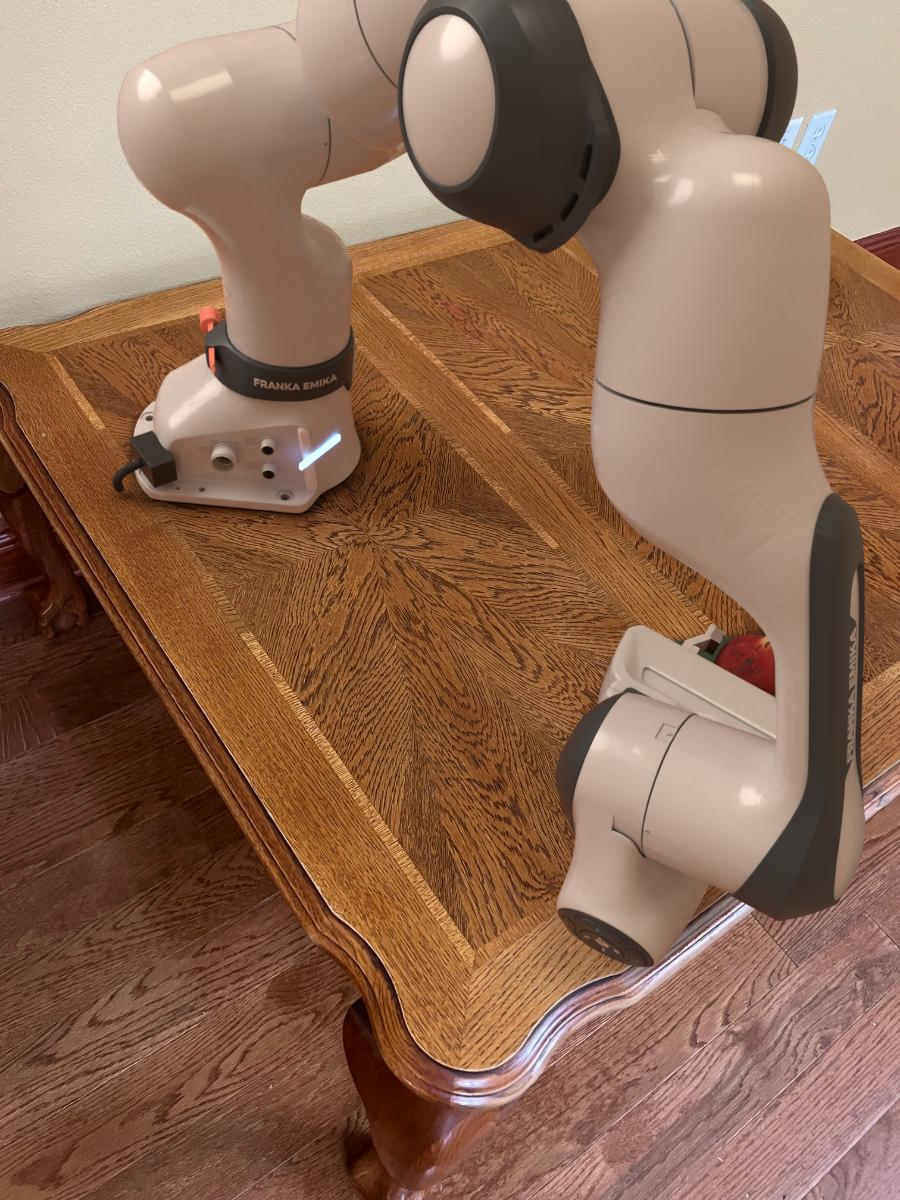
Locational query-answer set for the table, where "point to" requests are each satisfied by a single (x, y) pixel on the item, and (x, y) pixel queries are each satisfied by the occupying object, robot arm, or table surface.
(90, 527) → the table surface
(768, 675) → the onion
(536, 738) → the table surface
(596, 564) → the table surface
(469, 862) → the table surface
